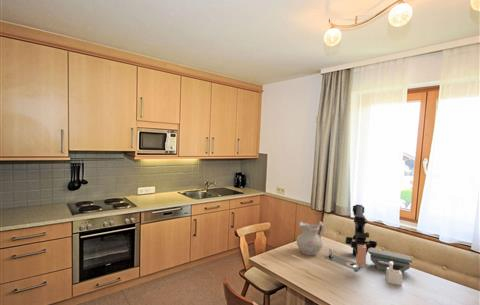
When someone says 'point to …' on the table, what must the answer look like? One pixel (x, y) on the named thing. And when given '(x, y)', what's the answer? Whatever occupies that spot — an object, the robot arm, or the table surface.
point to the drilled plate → (345, 262)
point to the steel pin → (330, 252)
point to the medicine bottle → (394, 273)
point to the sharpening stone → (389, 259)
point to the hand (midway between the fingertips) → (361, 254)
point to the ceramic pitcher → (310, 238)
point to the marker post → (361, 255)
